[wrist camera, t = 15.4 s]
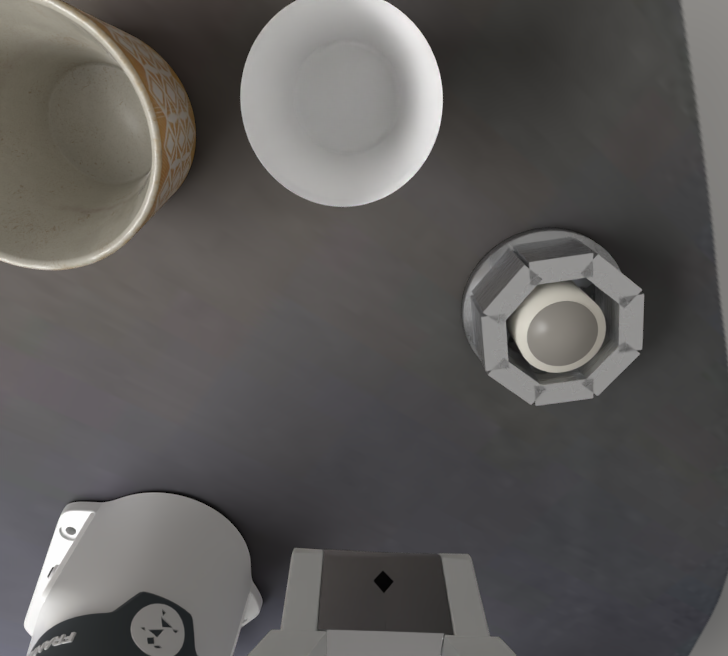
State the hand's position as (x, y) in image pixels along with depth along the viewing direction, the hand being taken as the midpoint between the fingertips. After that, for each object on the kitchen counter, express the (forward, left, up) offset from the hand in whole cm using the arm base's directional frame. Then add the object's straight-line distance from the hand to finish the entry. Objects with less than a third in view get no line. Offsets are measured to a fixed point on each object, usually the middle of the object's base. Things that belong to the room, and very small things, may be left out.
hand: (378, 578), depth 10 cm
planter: (-5, +16, -31) cm, 36 cm away
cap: (+2, -14, -30) cm, 33 cm away
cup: (+5, +5, -31) cm, 32 cm away
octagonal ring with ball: (+2, -14, -31) cm, 34 cm away
